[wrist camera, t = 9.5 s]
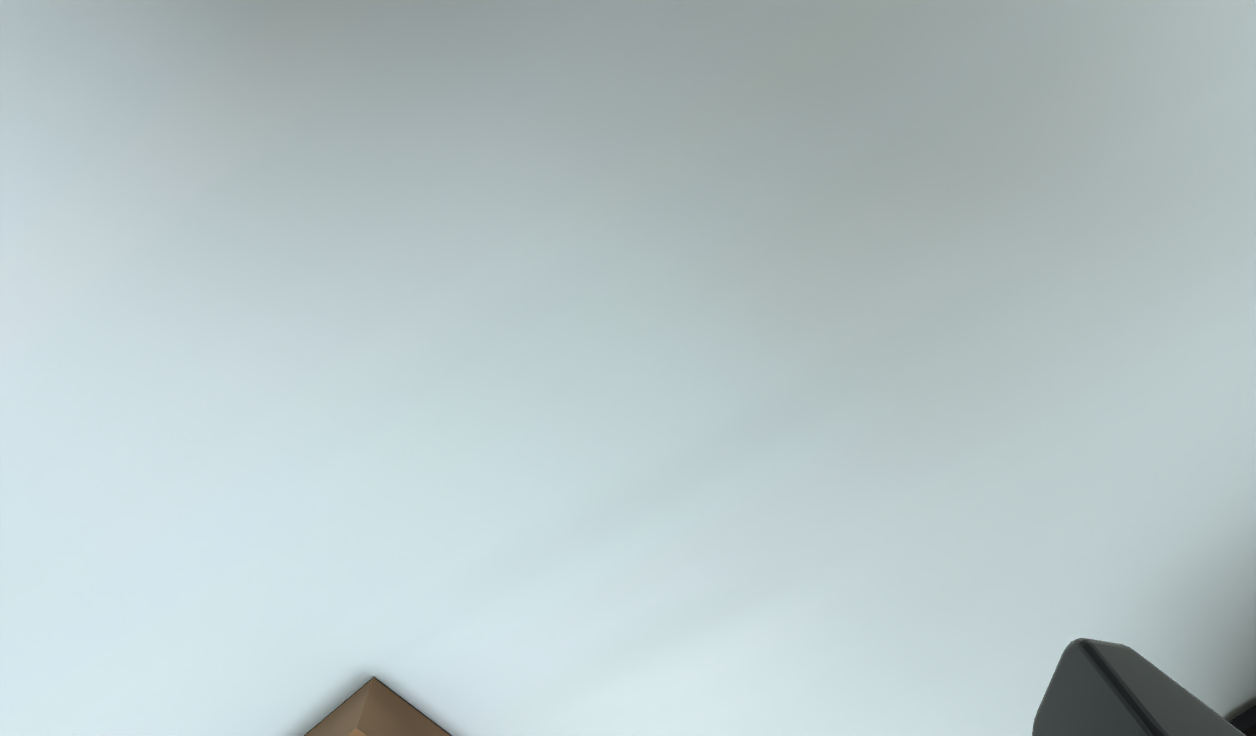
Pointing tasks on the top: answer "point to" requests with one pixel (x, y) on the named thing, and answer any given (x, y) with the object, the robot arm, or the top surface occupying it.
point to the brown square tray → (376, 716)
